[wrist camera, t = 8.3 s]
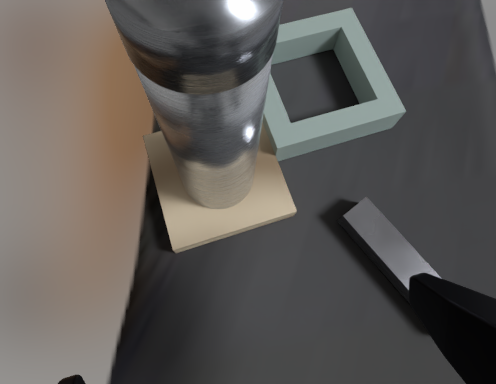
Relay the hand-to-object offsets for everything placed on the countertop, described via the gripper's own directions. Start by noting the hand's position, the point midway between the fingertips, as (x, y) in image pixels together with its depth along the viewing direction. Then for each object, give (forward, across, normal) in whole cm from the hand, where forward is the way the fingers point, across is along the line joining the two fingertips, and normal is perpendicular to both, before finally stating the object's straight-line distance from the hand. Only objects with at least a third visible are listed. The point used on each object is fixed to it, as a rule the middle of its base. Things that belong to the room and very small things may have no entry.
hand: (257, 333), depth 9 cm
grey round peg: (+12, -1, 0) cm, 12 cm away
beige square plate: (+12, -1, 0) cm, 13 cm away
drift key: (+7, -9, +6) cm, 13 cm away
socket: (+15, -8, -3) cm, 17 cm away
